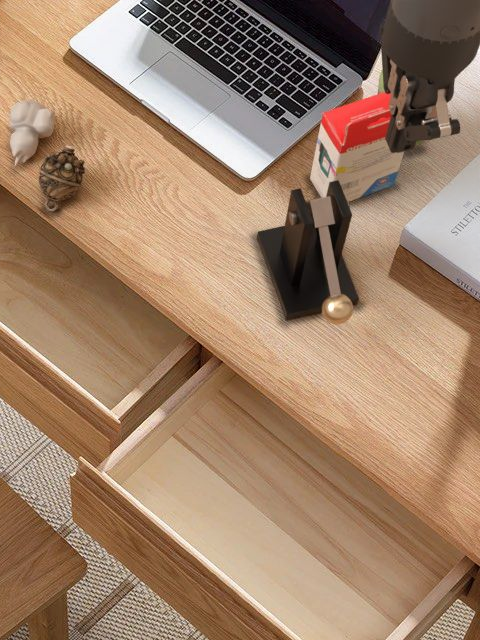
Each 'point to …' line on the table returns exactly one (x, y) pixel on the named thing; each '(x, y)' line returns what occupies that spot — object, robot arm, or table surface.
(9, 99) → the table surface
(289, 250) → the lever base
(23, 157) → the white lobed figurine
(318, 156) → the ink box
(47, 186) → the pendant
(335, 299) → the lever with brass knob
